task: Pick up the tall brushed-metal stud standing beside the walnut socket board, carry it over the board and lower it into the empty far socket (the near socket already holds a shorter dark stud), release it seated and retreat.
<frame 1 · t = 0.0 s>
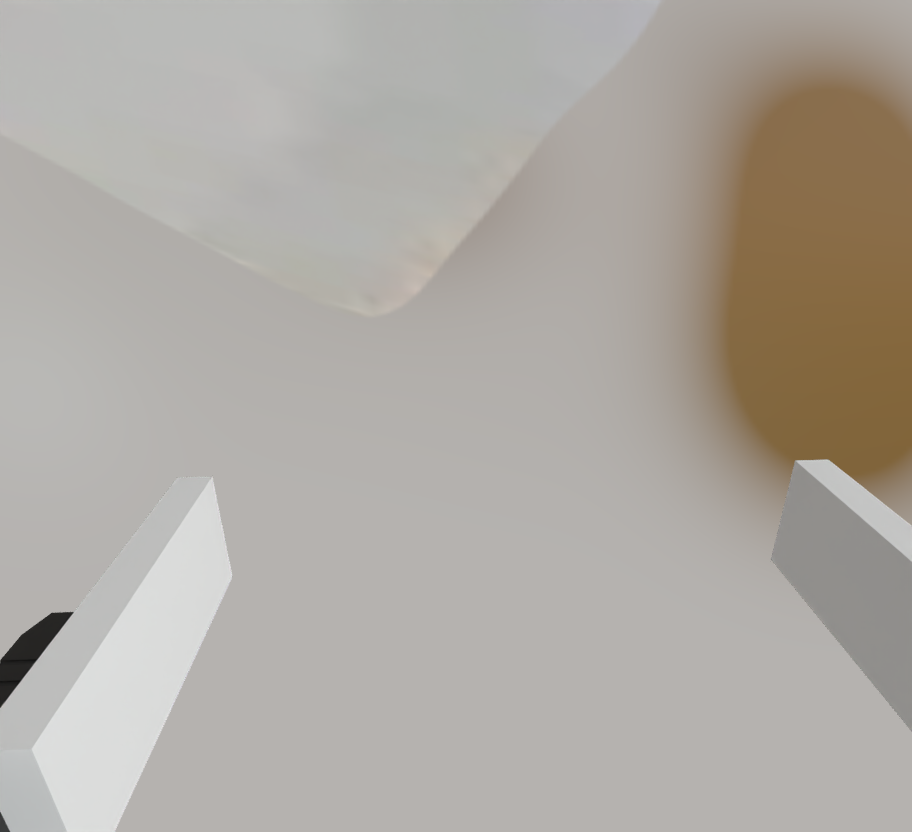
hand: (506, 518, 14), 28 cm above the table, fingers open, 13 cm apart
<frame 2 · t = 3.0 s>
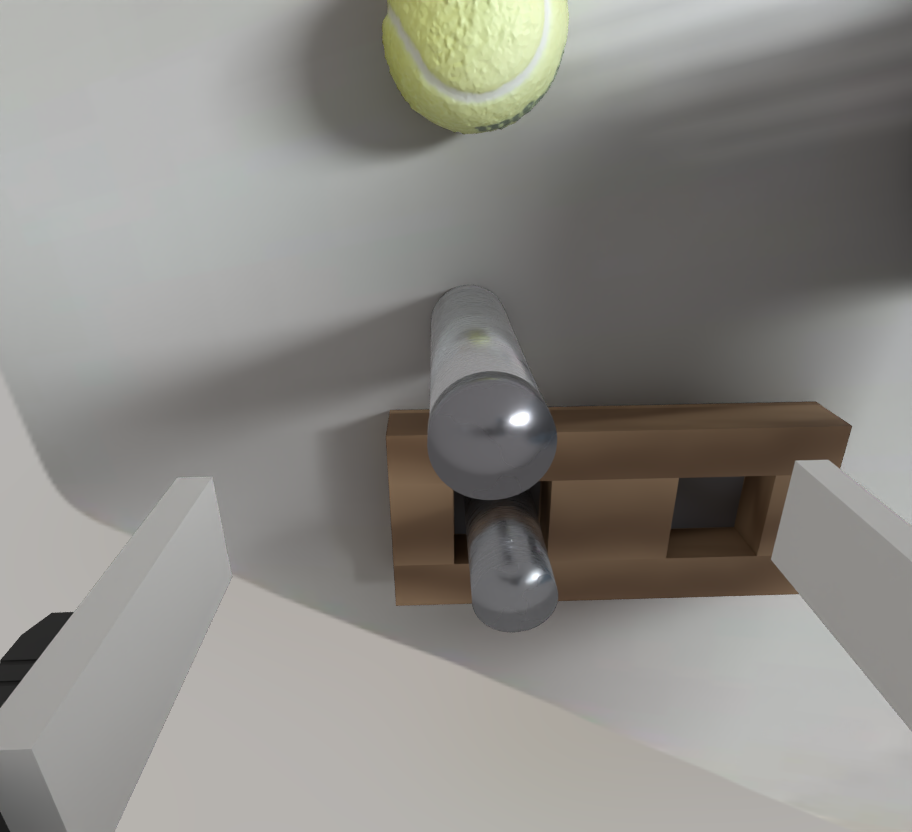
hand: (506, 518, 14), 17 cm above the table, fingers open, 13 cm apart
seated stud: (496, 497, 33), resting on socket board
tennis ball: (468, 45, 25), on the table
stud: (468, 322, 29), on the table
socket board: (596, 490, 33), on the table
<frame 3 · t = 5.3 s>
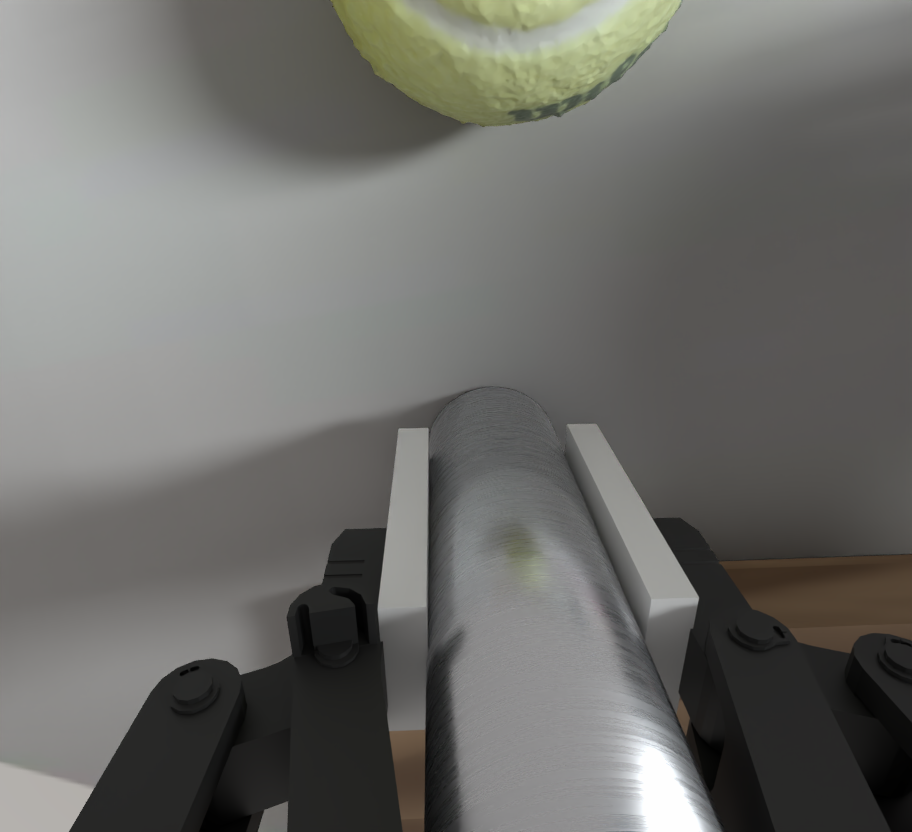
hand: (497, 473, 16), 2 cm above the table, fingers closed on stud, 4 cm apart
stud: (491, 445, 17), on the table, touching gripper
socket board: (678, 676, 22), on the table
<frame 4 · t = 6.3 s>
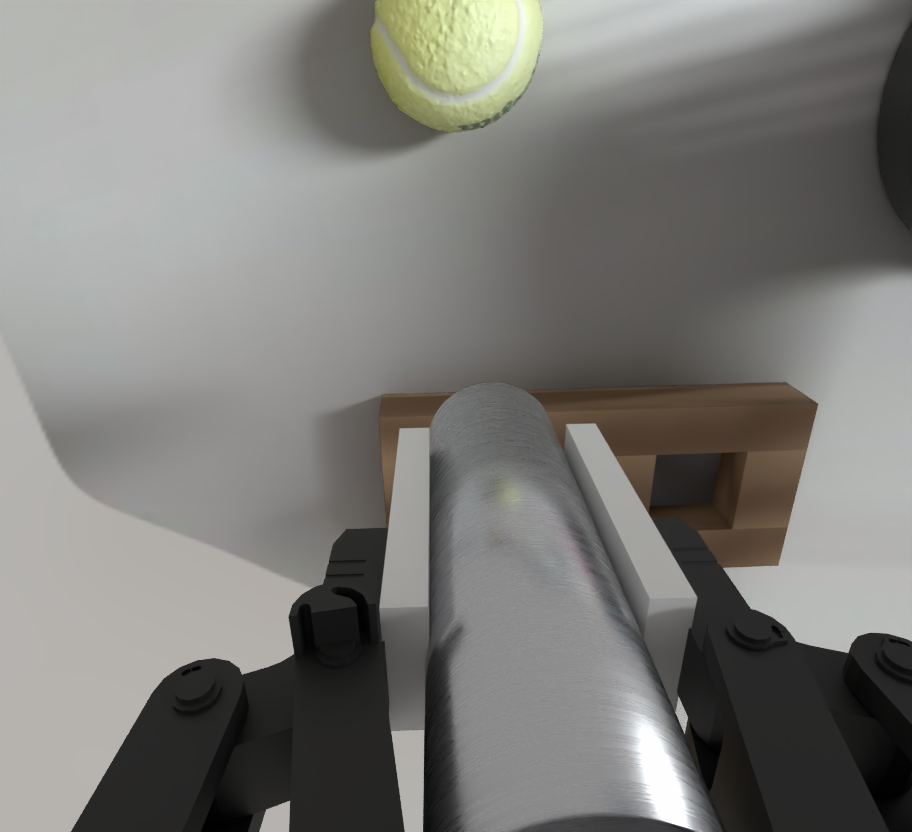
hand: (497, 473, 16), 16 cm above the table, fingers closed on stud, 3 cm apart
tennis ball: (452, 49, 26), on the table
stud: (490, 440, 18), point 15 cm above the table, touching gripper
socket board: (580, 469, 35), on the table
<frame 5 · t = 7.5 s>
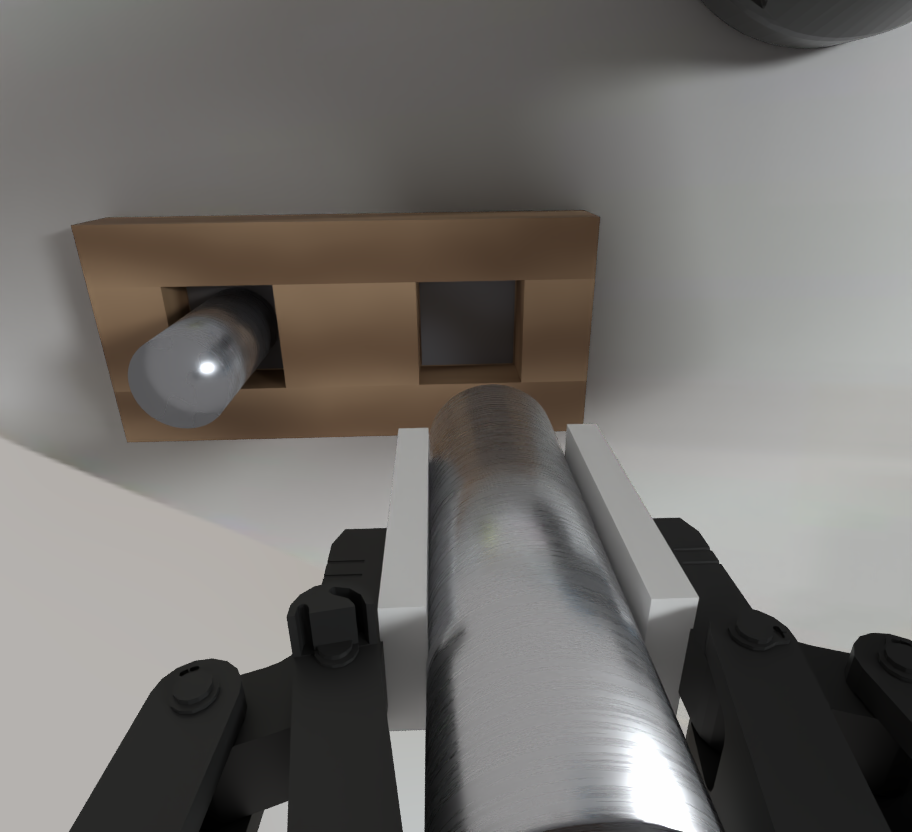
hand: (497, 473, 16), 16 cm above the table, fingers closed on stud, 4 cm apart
seated stud: (241, 324, 29), point 1 cm above the table, touching socket board
stud: (490, 442, 18), point 14 cm above the table, touching gripper
socket board: (356, 319, 30), on the table
when the fingers open (4 cm above the table, at t = 10.2 s): stud stays where it is, resting on socket board.
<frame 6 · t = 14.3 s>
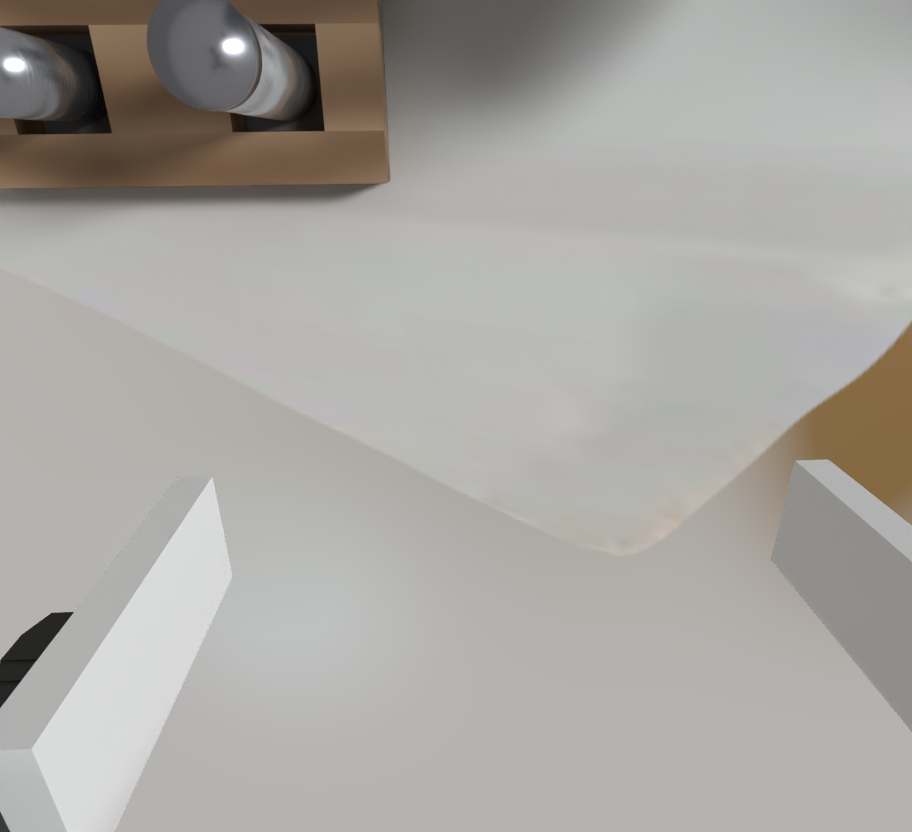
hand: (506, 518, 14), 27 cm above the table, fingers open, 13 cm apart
seated stud: (78, 85, 33), point 1 cm above the table, touching socket board
stud: (283, 84, 33), point 1 cm above the table, touching socket board
socket board: (184, 85, 33), on the table
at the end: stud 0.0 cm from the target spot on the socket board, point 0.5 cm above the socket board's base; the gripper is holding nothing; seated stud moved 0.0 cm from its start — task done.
